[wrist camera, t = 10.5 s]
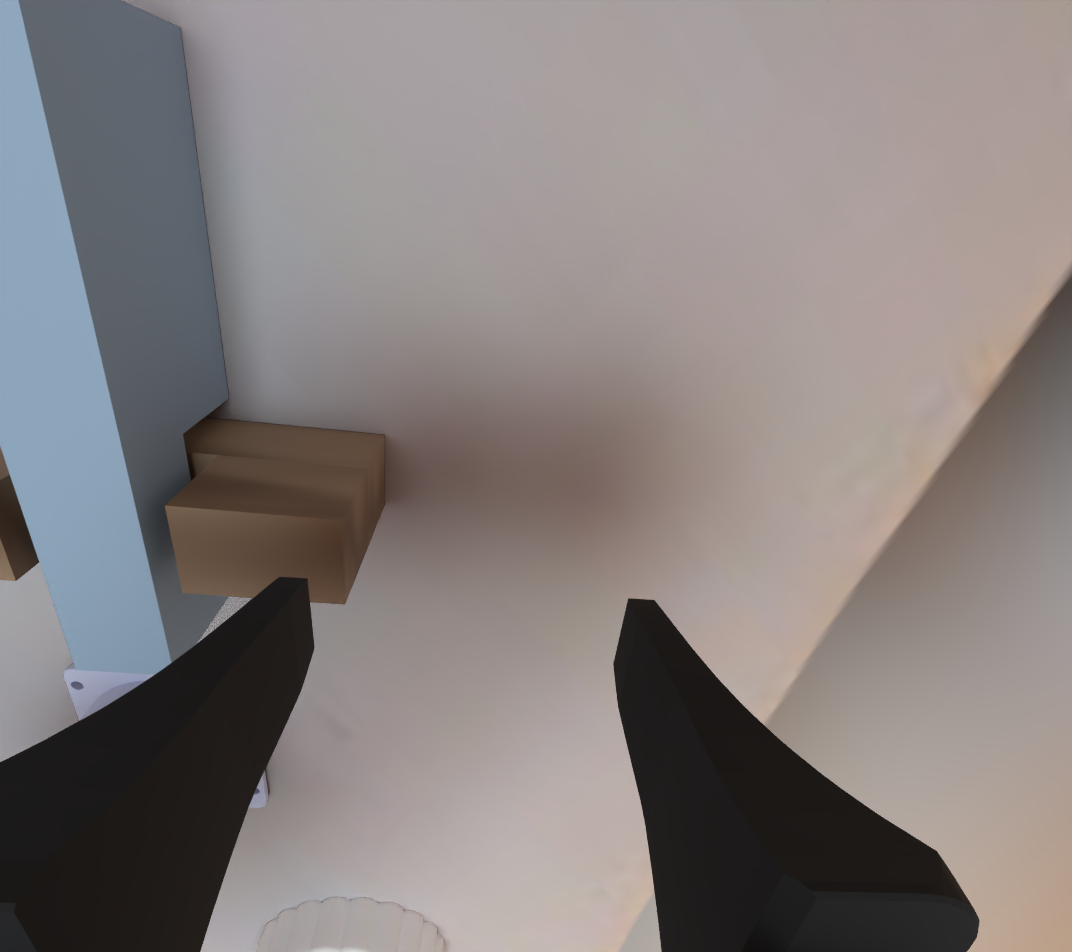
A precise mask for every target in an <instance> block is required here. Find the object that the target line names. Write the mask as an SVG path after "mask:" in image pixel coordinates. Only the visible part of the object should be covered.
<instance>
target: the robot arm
mask: <svg viewBox="0 0 1072 952" xmlns="http://www.w3.org/2000/svg"><path fill="white" fill-rule="evenodd" d="M313 651H314V639H313V629H312V619H311V608H310V598H309V588H308V578H294V577H278V578H277V579H276V580H274V581H273V582H272V583H271V584H269V585H268V586H267V587H266V588H265V589H263V590H262V591H261V592H260V593H259V594H257V595H256V596H255V597H254V598H253V599H251V600H250V601H249V602H248V603H247V604H246V605H244V606H243V607H242V608H241V609H240V610H238V611H237V612H236V613H235V614H234V615H232V616H231V617H230V618H229V619H227V620H226V621H225V622H224V623H223V624H221V625H220V626H219V627H218V628H216V629H215V630H214V631H213V632H211V633H210V634H209V635H208V636H206V637H205V638H204V639H203V640H201V641H200V642H199V643H197V644H196V645H195V646H193V647H192V648H191V649H189V650H188V651H187V652H185V653H184V654H183V655H181V656H180V657H179V658H177V659H176V660H174V661H173V662H172V663H170V664H169V665H168V666H166V667H165V668H164V669H162V670H161V671H159V672H158V673H156V674H155V675H152V674H135V673H118V672H101V671H84V670H76V669H75V666H74V664H71V665H69V666H68V668H67V669H66V670H65V671H64V673H63V676H64V679H65V682H66V685H67V687H68V690H69V693H70V696H71V699H72V702H73V705H74V707H75V710H76V713H77V716H78V719H79V721H78V722H77V723H75V724H73V725H71V726H69V727H68V728H66V729H64V730H62V731H60V732H59V733H57V734H55V735H53V736H51V737H50V738H48V739H46V740H44V741H42V742H40V743H38V744H36V745H34V746H32V747H30V748H28V749H26V750H24V751H22V752H20V753H18V754H16V755H14V756H12V757H10V758H8V759H6V760H4V761H2V762H0V952H200V951H201V947H202V944H203V941H204V938H205V934H206V931H207V928H208V925H209V922H210V918H211V915H212V912H213V909H214V906H215V903H216V900H217V897H218V894H219V891H220V888H221V885H222V882H223V879H224V876H225V873H226V870H227V867H228V864H229V861H230V858H231V855H232V852H233V849H234V847H235V844H236V841H237V838H238V835H239V832H240V829H241V827H242V824H243V821H244V818H245V815H246V812H247V810H248V808H262V807H264V806H265V805H266V804H267V801H268V798H269V796H268V789H267V782H266V775H265V769H266V766H267V764H268V762H269V760H270V758H271V756H272V753H273V751H274V749H275V747H276V745H277V743H278V740H279V738H280V736H281V734H282V732H283V730H284V727H285V725H286V723H287V721H288V719H289V716H290V714H291V712H292V710H293V708H294V705H295V703H296V701H297V699H298V696H299V694H300V692H301V689H302V686H303V683H304V680H305V677H306V674H307V671H308V667H309V664H310V661H311V658H312V654H313ZM614 674H615V684H616V692H617V700H618V708H619V712H620V716H621V721H622V725H623V729H624V734H625V738H626V742H627V746H628V750H629V755H630V759H631V763H632V767H633V771H634V775H635V779H636V784H637V788H638V792H639V796H640V800H641V805H642V810H643V815H644V820H645V825H646V832H647V839H648V846H649V853H650V860H651V867H652V875H653V883H654V891H655V899H656V906H657V914H658V922H659V931H660V940H661V949H662V952H967V951H968V949H969V948H970V947H971V945H972V944H973V942H974V941H975V939H976V937H977V933H978V927H979V918H978V916H977V914H976V912H975V910H974V909H973V907H972V905H971V903H970V902H969V900H968V899H967V897H966V895H965V894H964V892H963V891H962V889H961V888H960V886H959V884H958V883H957V881H956V879H955V878H954V876H953V875H952V873H951V871H950V870H949V868H948V867H947V865H946V864H945V862H944V861H943V860H942V858H941V857H940V855H939V854H938V852H937V851H936V850H934V849H932V848H931V847H929V846H927V845H926V844H924V843H923V842H921V841H920V840H918V839H916V838H915V837H913V836H911V835H910V834H908V833H907V832H905V831H904V830H902V829H900V828H899V827H897V826H895V825H894V824H892V823H891V822H889V821H888V820H886V819H884V818H883V817H881V816H880V815H878V814H877V813H875V812H874V811H872V810H871V809H869V808H868V807H867V806H865V805H864V804H862V803H861V802H859V801H858V800H856V799H855V798H854V797H852V796H851V795H849V794H848V793H846V792H845V791H844V790H842V789H841V788H840V787H838V786H837V785H835V784H834V783H833V782H832V781H830V780H829V779H828V778H826V777H825V776H823V775H822V774H821V773H819V772H818V771H817V770H816V769H815V768H813V767H812V766H811V765H810V764H808V763H807V762H806V761H805V760H804V759H802V758H801V757H800V756H798V755H797V754H796V753H795V752H794V751H792V750H791V749H790V748H789V747H788V746H787V745H785V744H784V743H783V742H782V741H781V740H780V739H778V738H777V737H776V736H775V735H774V734H773V733H772V732H771V731H770V730H769V729H767V728H766V727H765V726H764V725H763V724H762V723H761V722H760V721H759V720H758V719H757V718H756V717H754V716H753V715H752V714H751V713H750V712H749V711H748V710H747V709H746V708H745V707H744V706H743V705H742V704H741V703H740V702H739V701H738V700H737V699H736V697H735V696H734V695H733V694H732V693H731V692H730V691H729V690H728V689H727V688H726V687H725V686H724V685H723V684H722V683H721V682H720V680H719V679H718V678H717V677H716V676H715V675H714V674H713V672H712V671H711V670H710V669H709V668H708V667H707V665H706V664H705V663H704V662H703V661H702V659H701V658H700V657H699V656H698V655H697V654H696V652H695V651H694V650H693V649H692V647H691V646H690V645H689V644H688V642H687V641H686V640H685V639H684V637H683V636H682V635H681V634H680V632H679V631H678V630H677V628H676V627H675V626H674V625H673V623H672V622H671V621H670V619H669V618H668V617H667V615H666V614H665V613H664V612H663V610H662V609H661V608H660V607H659V605H658V604H657V603H656V602H655V600H644V599H628V602H627V607H626V611H625V616H624V620H623V624H622V629H621V633H620V638H619V642H618V646H617V651H616V655H615V660H614Z"/></svg>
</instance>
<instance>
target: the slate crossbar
mask: <svg viewBox="0 0 1072 952" xmlns="http://www.w3.org/2000/svg"><path fill="white" fill-rule="evenodd" d="M228 399H229V395H228V387H227V380H226V372H225V364H224V357H223V349H222V341H221V334H220V326H219V319H218V311H217V303H216V296H215V288H214V280H213V273H212V265H211V258H210V250H209V242H208V235H207V227H206V219H205V212H204V204H203V197H202V189H201V181H200V174H199V166H198V158H197V151H196V143H195V136H194V128H193V120H192V113H191V105H190V98H189V90H188V82H187V75H186V67H185V59H184V52H183V44H182V37H181V29H180V27H178V26H176V25H174V24H172V23H170V22H167V21H165V20H163V19H161V18H159V17H156V16H154V15H152V14H150V13H148V12H145V11H143V10H141V9H139V8H137V7H134V6H132V5H130V4H128V3H126V2H123V1H121V0H0V447H1V450H2V453H3V456H4V459H5V462H6V465H7V468H8V471H9V474H10V477H11V480H12V483H13V486H14V488H15V491H16V494H17V497H18V500H19V503H20V506H21V509H22V512H23V515H24V518H25V521H26V524H27V527H28V530H29V533H30V536H31V539H32V542H33V545H34V548H35V551H36V554H37V557H38V560H39V563H40V566H41V569H42V571H43V574H44V577H45V580H46V583H47V586H48V589H49V592H50V595H51V598H52V601H53V604H54V607H55V610H56V613H57V616H58V619H59V622H60V625H61V628H62V631H63V634H64V637H65V640H66V643H67V646H68V649H69V652H70V654H71V657H72V660H73V663H74V666H75V669H76V670H84V671H101V672H118V673H135V674H152V675H155V674H156V673H158V672H159V671H161V670H162V669H164V668H165V667H166V666H168V665H169V664H170V663H172V662H173V661H174V660H176V659H177V658H179V657H180V656H181V655H183V654H184V653H185V652H187V651H188V650H189V649H191V648H192V647H193V646H195V645H196V644H197V642H198V641H199V639H200V638H201V636H202V635H203V633H204V632H205V631H206V629H207V628H208V626H209V625H210V623H211V622H212V620H213V619H214V617H215V616H216V614H217V613H218V612H219V610H220V609H221V607H222V606H223V604H224V603H225V601H226V600H227V598H228V597H229V596H220V595H206V594H192V593H182V588H181V583H180V578H179V573H178V568H177V564H176V559H175V554H174V549H173V544H172V539H171V534H170V529H169V524H168V519H167V514H166V509H165V505H166V504H167V503H168V502H169V501H170V500H171V499H172V498H173V497H175V496H176V495H177V494H178V493H179V492H180V491H181V490H182V489H183V488H184V487H185V486H186V485H187V484H188V483H190V482H191V477H190V472H189V466H188V460H187V455H186V449H185V443H184V437H183V433H185V432H186V431H187V430H189V429H190V428H191V427H192V426H194V425H195V424H196V423H198V422H199V421H200V420H202V419H203V418H204V417H206V416H207V415H208V414H209V413H211V412H212V411H213V410H215V409H216V408H217V407H219V406H220V405H221V404H222V403H224V402H225V401H226V400H228Z"/></svg>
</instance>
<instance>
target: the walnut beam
mask: <svg viewBox="0 0 1072 952" xmlns="http://www.w3.org/2000/svg"><path fill="white" fill-rule="evenodd" d="M183 437H184V443H185V449H186V455H187V460H188V466H189V472H190V477H191V482H190V483H188V484H187V485H186V486H185V487H184V488H183V489H182V490H181V491H180V492H179V493H178V494H177V495H176V496H175V497H173V498H172V499H171V500H170V501H169V502H168V503H167V504H166V505H165V509H166V514H167V519H168V524H169V529H170V534H171V539H172V544H173V549H174V554H175V559H176V564H177V568H178V573H179V578H180V583H181V588H182V593H192V594H206V595H220V596H234V597H248V598H254V597H255V596H256V595H257V594H259V593H260V592H261V591H262V590H263V589H265V588H266V587H267V586H268V585H269V584H271V583H272V582H273V581H274V580H276V579H277V578H278V577H294V578H308V588H309V598H310V602H318V603H332V604H345V603H346V600H347V598H348V595H349V593H350V590H351V588H352V585H353V583H354V580H355V578H356V575H357V573H358V570H359V568H360V565H361V563H362V560H363V558H364V555H365V553H366V550H367V548H368V545H369V543H370V540H371V538H372V535H373V533H374V530H375V528H376V525H377V523H378V520H379V518H380V515H381V513H382V510H383V508H384V505H385V435H381V434H370V433H360V432H350V431H339V430H329V429H319V428H308V427H298V426H288V425H277V424H267V423H257V422H246V421H236V420H226V419H215V418H205V417H204V418H203V419H202V420H200V421H199V422H198V423H196V424H195V425H194V426H192V427H191V428H190V429H189V430H187V431H186V432H185V433H183ZM38 563H39V560H38V557H37V554H36V551H35V548H34V545H33V542H32V539H31V536H30V533H29V530H28V527H27V524H26V521H25V518H24V515H23V512H22V509H21V506H20V503H19V500H18V497H17V494H16V491H15V488H14V486H13V483H12V480H11V477H10V474H9V471H8V468H7V465H6V462H5V459H4V456H3V453H2V450H1V447H0V580H10V581H16V580H18V579H19V578H20V577H21V576H23V575H24V574H25V573H26V572H28V571H29V570H30V569H31V568H33V567H34V566H35V565H36V564H38Z"/></svg>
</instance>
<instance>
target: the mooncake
mask: <svg viewBox="0 0 1072 952" xmlns="http://www.w3.org/2000/svg"><path fill="white" fill-rule="evenodd" d="M443 947H444V940H443V938H442V937H441V936H440V935H438V934H437V927H436V926H435V925H434V924H433V923H430V922H427V921H423V917H422V915H421V914H419V913H418V912H415V911H410V910H403V908H402V907H401V906H400V905H398V904H395V903H391V902H382V903H378V902H377V901H375V900H373V899H370V898H355V899H352V900H349V899H346V898H342V897H332V898H328V899H326V900H324V901H323V902H320V901H307V902H304V903H302V904H300V905H299V907H298V909H297V908H291V909H286V910H283V911H282V912H281V913H280V914H279V916H278V919H274V920H271V921H270V922H268V923H267V925H266V927H265V930H264V933H263V935H262V937H261V939H260V942H259V945H258V948H257V951H256V952H443Z"/></svg>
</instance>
